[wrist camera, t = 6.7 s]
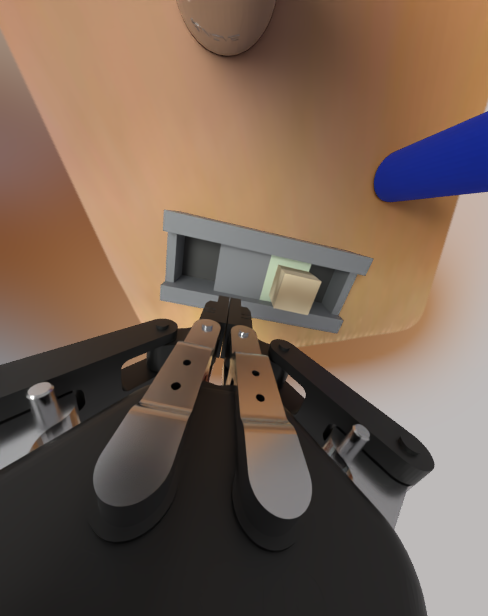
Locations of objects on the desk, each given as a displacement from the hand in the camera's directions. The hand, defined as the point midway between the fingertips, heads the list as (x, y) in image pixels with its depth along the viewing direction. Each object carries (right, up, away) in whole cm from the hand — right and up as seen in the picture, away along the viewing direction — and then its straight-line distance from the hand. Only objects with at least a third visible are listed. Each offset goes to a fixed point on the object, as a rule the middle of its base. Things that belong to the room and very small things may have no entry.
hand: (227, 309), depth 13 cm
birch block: (+7, +3, +11) cm, 13 cm away
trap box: (+3, +6, +14) cm, 16 cm away
